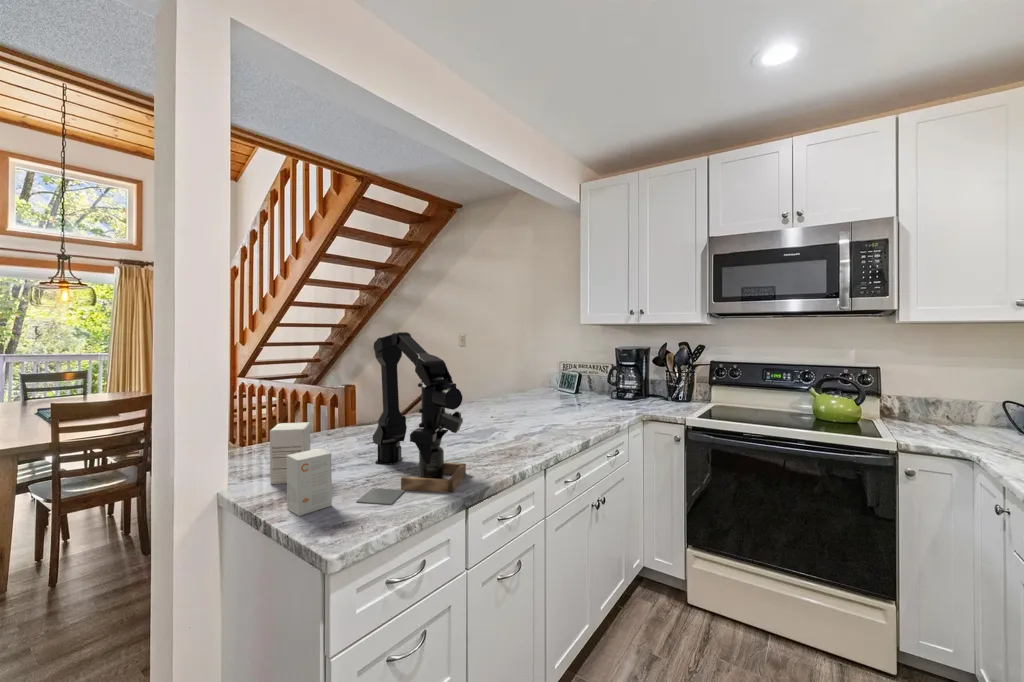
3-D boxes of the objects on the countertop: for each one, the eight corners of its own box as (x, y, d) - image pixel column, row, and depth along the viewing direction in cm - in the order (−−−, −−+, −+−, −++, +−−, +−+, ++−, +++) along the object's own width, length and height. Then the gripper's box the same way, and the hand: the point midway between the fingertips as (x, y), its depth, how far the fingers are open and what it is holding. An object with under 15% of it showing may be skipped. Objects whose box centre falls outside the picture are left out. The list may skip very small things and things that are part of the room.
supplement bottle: (448, 478, 126) (448, 436, 126) (436, 486, 120) (436, 442, 119) (426, 475, 128) (427, 434, 128) (414, 483, 122) (414, 440, 122)
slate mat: (356, 502, 109) (356, 501, 108) (372, 489, 117) (372, 488, 117) (391, 504, 107) (391, 503, 107) (405, 491, 116) (405, 490, 116)
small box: (319, 499, 110) (319, 447, 110) (332, 506, 106) (332, 452, 106) (286, 509, 104) (285, 454, 104) (298, 517, 100) (297, 460, 100)
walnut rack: (401, 489, 117) (401, 478, 117) (420, 471, 132) (420, 461, 132) (452, 492, 116) (452, 481, 116) (465, 473, 130) (465, 463, 130)
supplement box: (277, 473, 129) (277, 422, 128) (311, 471, 131) (310, 421, 130) (268, 484, 120) (268, 430, 119) (304, 482, 122) (304, 428, 122)
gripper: (450, 411, 113) (450, 472, 114) (467, 399, 132) (467, 451, 132) (409, 410, 115) (409, 469, 115) (431, 398, 133) (431, 449, 134)
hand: (431, 459), depth 124 cm, fingers closed on supplement bottle, 7 cm apart
